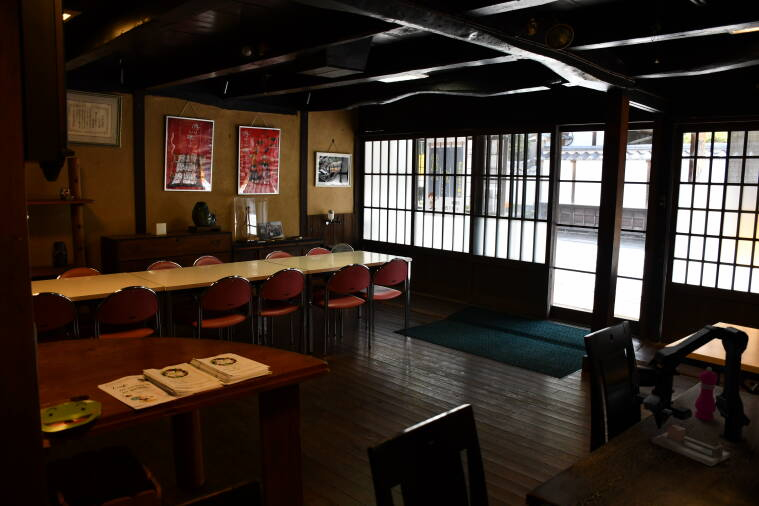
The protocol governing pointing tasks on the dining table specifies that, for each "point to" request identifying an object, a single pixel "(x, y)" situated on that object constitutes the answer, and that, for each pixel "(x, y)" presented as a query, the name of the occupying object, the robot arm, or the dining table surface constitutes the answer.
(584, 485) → the dining table surface
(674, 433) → the terracotta cardboard box
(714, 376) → the pepper mill
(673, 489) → the dining table surface
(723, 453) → the track board
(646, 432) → the dining table surface
